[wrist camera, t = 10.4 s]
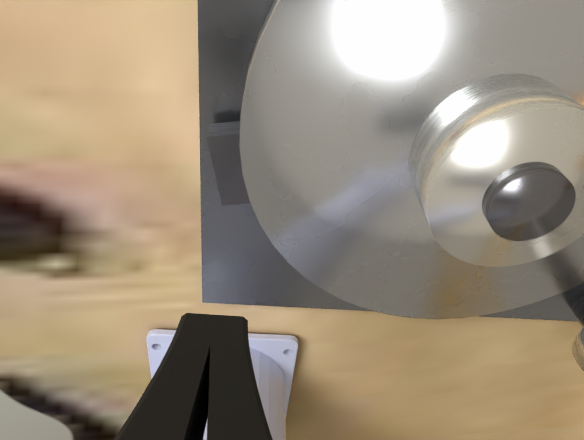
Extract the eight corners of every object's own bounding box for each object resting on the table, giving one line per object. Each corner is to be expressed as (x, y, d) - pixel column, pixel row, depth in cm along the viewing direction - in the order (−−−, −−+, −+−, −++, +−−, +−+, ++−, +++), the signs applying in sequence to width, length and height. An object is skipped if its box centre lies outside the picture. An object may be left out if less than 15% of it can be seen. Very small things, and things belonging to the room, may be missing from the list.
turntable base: (586, 307, 25) (674, 430, 19) (205, 287, 23) (183, 416, 18) (931, -191, 13) (1407, -234, 8) (198, -306, 11) (126, -471, 6)
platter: (251, 312, 22) (246, 409, 18) (155, -129, 12) (97, -127, 8) (636, 278, 22) (716, 371, 18) (871, -215, 12) (1184, -260, 8)
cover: (406, 227, 18) (428, 288, 15) (411, 85, 14) (440, 132, 12) (556, 210, 18) (604, 269, 15) (596, 62, 14) (667, 104, 12)
